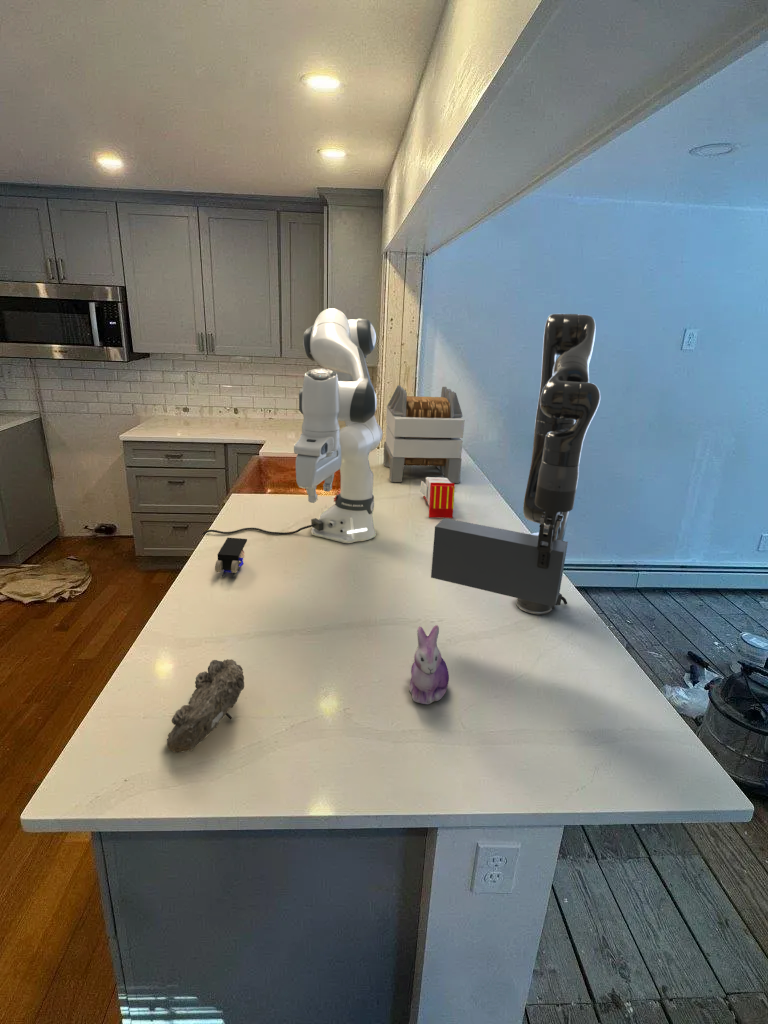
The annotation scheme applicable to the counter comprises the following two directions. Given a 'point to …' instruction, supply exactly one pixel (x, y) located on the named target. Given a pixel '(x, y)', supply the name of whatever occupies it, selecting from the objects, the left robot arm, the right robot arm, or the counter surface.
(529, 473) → the right robot arm
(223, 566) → the black toy vehicle
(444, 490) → the toy
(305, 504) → the counter surface
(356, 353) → the left robot arm
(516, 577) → the box
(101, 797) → the counter surface
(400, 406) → the transformer
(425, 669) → the figurine
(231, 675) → the fossil
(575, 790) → the counter surface
